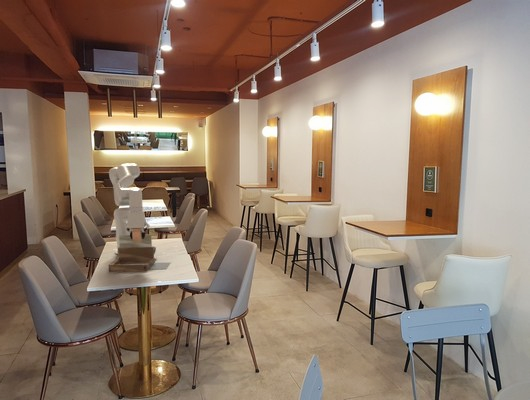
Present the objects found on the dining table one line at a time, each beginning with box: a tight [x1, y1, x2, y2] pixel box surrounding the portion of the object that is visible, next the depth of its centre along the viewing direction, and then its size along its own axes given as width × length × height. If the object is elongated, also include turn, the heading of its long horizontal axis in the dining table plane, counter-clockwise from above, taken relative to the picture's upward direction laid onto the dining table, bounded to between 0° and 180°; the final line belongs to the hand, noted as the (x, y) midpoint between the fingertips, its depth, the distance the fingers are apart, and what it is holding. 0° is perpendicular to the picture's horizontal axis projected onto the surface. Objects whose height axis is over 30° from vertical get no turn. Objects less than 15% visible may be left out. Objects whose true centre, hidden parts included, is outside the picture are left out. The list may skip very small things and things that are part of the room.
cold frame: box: [107, 234, 155, 273], centre depth 241 cm, size 19×22×18 cm
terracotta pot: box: [131, 228, 143, 242], centre depth 240 cm, size 7×7×8 cm
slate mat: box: [148, 262, 172, 271], centre depth 243 cm, size 14×10×1 cm
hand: (137, 238), depth 240 cm, fingers closed on terracotta pot, 6 cm apart
